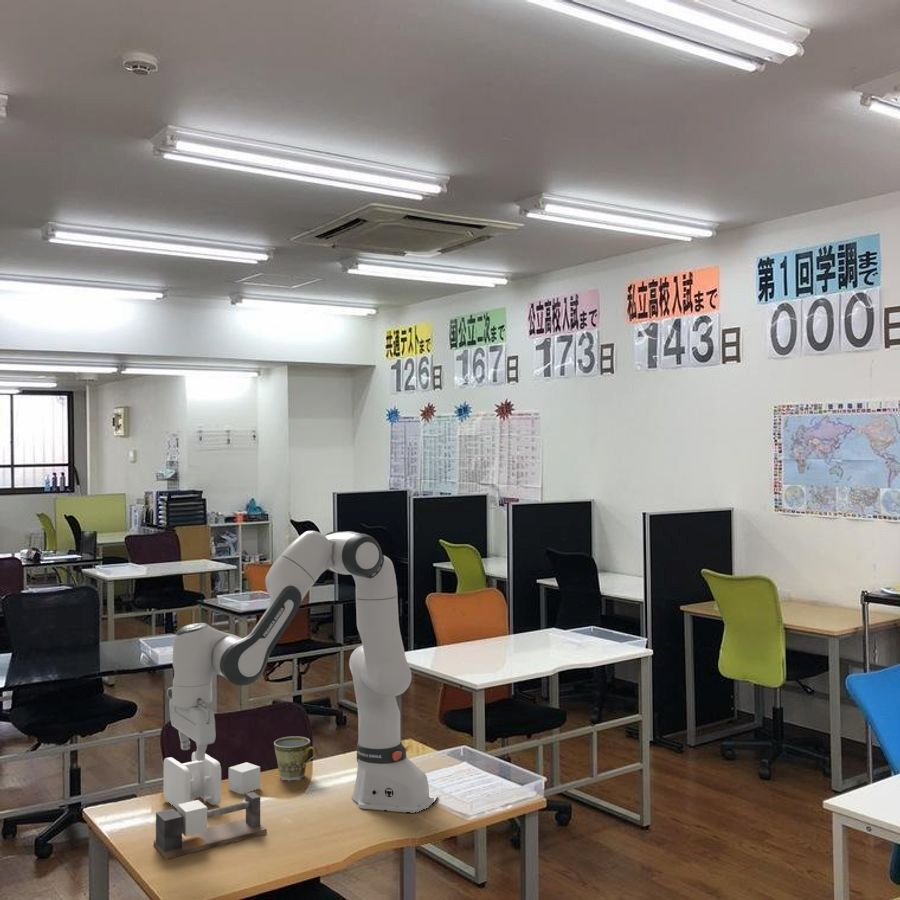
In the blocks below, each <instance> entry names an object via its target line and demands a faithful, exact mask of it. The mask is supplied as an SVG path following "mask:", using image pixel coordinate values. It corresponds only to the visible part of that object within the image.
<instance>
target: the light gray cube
mask: <svg viewBox="0 0 900 900" xmlns="http://www.w3.org/2000/svg"><path fill="white" fill-rule="evenodd" d="M259 788H260V789H261V766H260V765H256V764H253V763H250V762H246V761H245V762H243V763H240V764H236V765H233V766H230V767H228V790H229V791H231V790H232V791H231V792H233V791H234V793H236V792H237V794H239V793H240V794H239V795H241V794H243V795H245V794H244V793H246V794H247V792H249V793H251V792H250V791H252V792H254V791H253V790H255V791H257V790H256V789H258V790H260V789H259Z"/></svg>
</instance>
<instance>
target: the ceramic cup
mask: <svg viewBox="0 0 900 900" xmlns="http://www.w3.org/2000/svg"><path fill="white" fill-rule="evenodd" d="M310 745H311V740H310V738H307V737H304V736H285V737H281V738H278V739H276V740H274V742H273V747H274V751H275V752H274V753H275V758H276V761H277V763H276V764H277V767H278V774H279V778H280V780H282V779H283V780H282V781H284V780H297V781H300V780H302V779H304V778H305V773H306V767H307V764H308V763H309V762H310V761H312V759H314V758H315V757H316V756H317V754H318V752H317V748H316V747H315V746H310ZM310 750H313V751H314V755H313V756H312V757H310V758H309V759H308V757H309V751H310ZM303 777H304V778H303ZM301 778H302V779H301ZM299 779H300V780H299Z"/></svg>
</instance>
